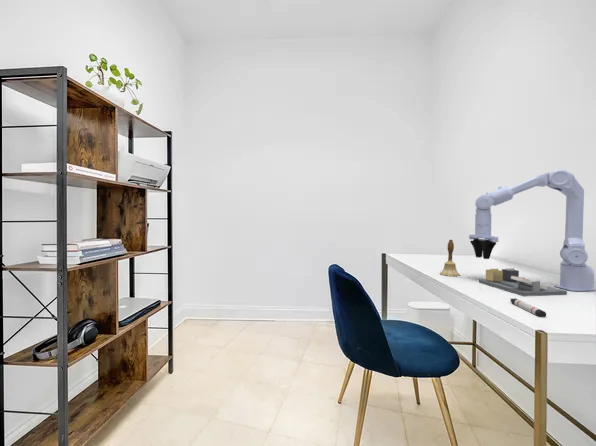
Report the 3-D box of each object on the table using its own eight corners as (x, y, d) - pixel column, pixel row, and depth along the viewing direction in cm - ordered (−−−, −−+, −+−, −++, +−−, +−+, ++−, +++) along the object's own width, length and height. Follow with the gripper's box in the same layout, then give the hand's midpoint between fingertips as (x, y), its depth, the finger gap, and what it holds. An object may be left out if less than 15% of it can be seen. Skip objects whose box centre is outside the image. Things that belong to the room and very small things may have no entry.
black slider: (510, 278, 130) (510, 267, 130) (518, 280, 126) (518, 269, 126) (501, 279, 130) (501, 267, 129) (509, 281, 126) (509, 269, 126)
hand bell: (448, 272, 153) (449, 238, 152) (464, 275, 145) (464, 240, 145) (435, 273, 149) (436, 239, 149) (451, 277, 142) (451, 240, 141)
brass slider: (494, 279, 129) (494, 267, 129) (502, 281, 125) (502, 269, 125) (485, 279, 129) (485, 268, 129) (493, 281, 125) (493, 269, 125)
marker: (546, 318, 87) (546, 310, 87) (538, 318, 87) (538, 310, 87) (513, 302, 102) (513, 296, 102) (507, 302, 102) (507, 296, 102)
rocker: (533, 286, 117) (534, 283, 117) (546, 289, 111) (548, 286, 111) (510, 278, 115) (511, 275, 115) (522, 281, 110) (523, 278, 110)
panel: (515, 281, 133) (515, 270, 133) (566, 294, 111) (567, 281, 111) (478, 282, 130) (478, 271, 130) (523, 296, 109) (524, 282, 109)
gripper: (462, 224, 139) (462, 256, 140) (486, 225, 125) (486, 260, 125) (477, 224, 140) (477, 255, 141) (503, 225, 126) (502, 260, 126)
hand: (482, 258), depth 133 cm, fingers open, 4 cm apart
